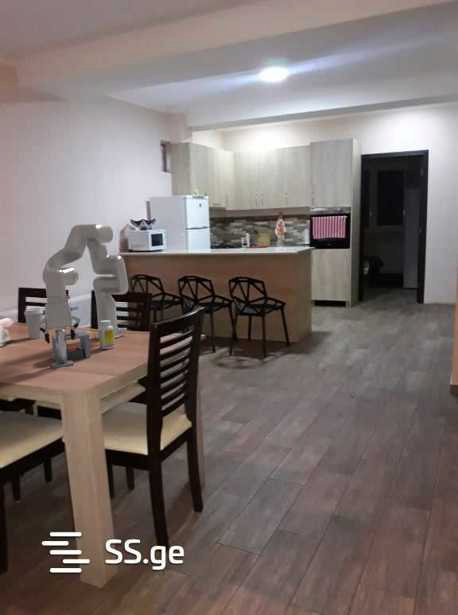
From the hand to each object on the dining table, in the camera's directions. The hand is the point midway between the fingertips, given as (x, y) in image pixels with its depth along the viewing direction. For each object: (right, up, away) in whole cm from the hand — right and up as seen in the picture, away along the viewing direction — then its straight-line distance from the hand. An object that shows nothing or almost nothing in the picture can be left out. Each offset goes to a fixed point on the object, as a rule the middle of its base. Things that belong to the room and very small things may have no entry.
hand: (60, 341), depth 206 cm
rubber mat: (0, -10, +2) cm, 10 cm away
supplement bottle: (+12, -5, +29) cm, 32 cm away
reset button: (+1, -7, +13) cm, 15 cm away
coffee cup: (-32, -2, +57) cm, 65 cm away
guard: (+1, -8, +13) cm, 15 cm away
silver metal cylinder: (0, -9, +2) cm, 9 cm away
